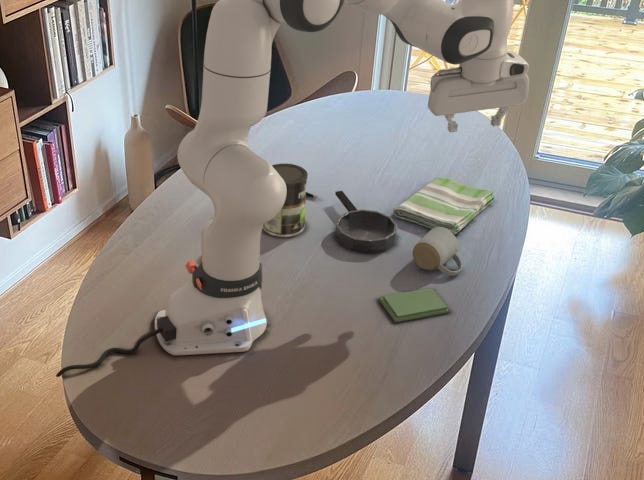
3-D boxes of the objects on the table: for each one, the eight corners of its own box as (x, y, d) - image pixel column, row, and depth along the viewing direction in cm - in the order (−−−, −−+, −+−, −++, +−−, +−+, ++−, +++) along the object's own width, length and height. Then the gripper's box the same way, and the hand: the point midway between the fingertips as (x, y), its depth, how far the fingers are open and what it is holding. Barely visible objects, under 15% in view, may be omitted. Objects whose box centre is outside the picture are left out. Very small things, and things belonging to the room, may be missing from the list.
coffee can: (307, 217, 199) (310, 165, 191) (301, 239, 191) (303, 186, 183) (266, 213, 201) (267, 160, 192) (257, 234, 193) (258, 181, 184)
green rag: (395, 322, 166) (395, 317, 166) (379, 300, 173) (379, 295, 172) (448, 312, 169) (449, 307, 169) (430, 291, 175) (431, 286, 175)
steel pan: (349, 257, 186) (350, 244, 184) (312, 205, 204) (312, 193, 202) (404, 248, 189) (406, 235, 187) (363, 198, 207) (364, 186, 205)
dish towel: (390, 216, 200) (391, 203, 198) (433, 181, 215) (435, 168, 213) (454, 239, 192) (456, 226, 190) (495, 201, 207) (497, 188, 205)
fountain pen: (320, 199, 207) (320, 194, 206) (317, 201, 206) (318, 196, 205) (271, 184, 213) (272, 178, 212) (269, 185, 212) (269, 180, 211)
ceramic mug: (408, 265, 183) (412, 236, 178) (426, 250, 188) (431, 221, 183) (450, 283, 178) (456, 254, 173) (467, 267, 183) (474, 238, 178)
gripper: (437, 77, 159) (431, 141, 168) (537, 64, 161) (525, 128, 170) (426, 64, 164) (421, 127, 173) (523, 52, 166) (513, 115, 175)
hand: (473, 127), depth 171 cm, fingers open, 8 cm apart
